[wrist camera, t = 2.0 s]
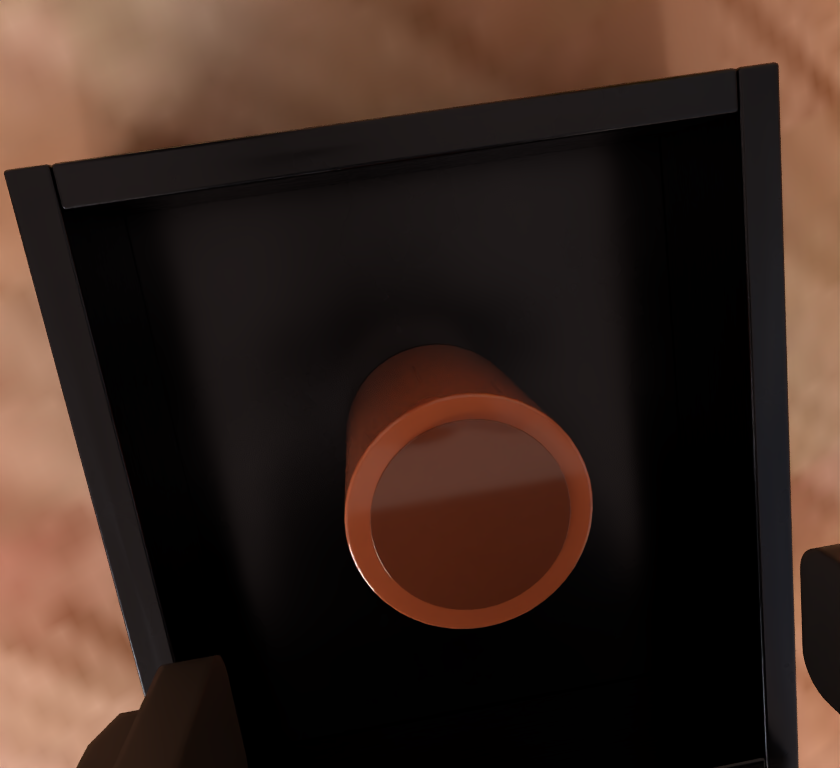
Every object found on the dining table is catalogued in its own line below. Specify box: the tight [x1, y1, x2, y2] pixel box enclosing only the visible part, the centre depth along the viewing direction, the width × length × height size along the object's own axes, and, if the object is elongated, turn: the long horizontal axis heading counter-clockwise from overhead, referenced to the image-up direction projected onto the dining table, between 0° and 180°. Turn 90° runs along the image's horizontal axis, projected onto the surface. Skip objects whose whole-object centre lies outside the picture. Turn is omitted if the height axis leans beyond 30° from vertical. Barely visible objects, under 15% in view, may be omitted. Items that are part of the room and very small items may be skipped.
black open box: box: [4, 62, 799, 768], centre depth 19 cm, size 18×16×5 cm
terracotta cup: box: [344, 344, 593, 629], centre depth 17 cm, size 5×5×6 cm
